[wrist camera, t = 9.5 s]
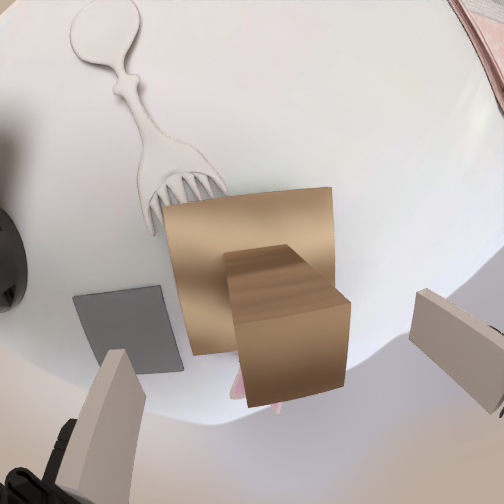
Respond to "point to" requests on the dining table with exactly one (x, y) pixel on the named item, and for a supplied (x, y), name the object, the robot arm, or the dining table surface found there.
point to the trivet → (131, 328)
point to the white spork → (140, 108)
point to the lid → (263, 288)
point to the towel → (485, 37)
